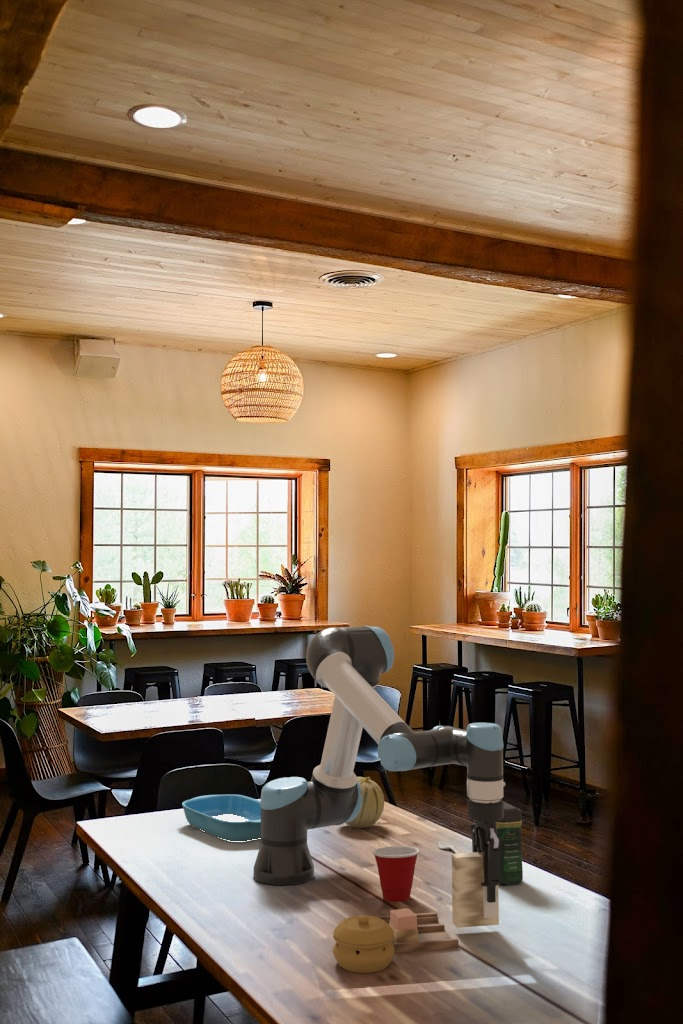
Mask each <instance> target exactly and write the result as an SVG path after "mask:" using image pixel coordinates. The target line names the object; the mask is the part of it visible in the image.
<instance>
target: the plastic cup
mask: <svg viewBox="0 0 683 1024" xmlns="http://www.w3.org/2000/svg"><path fill="white" fill-rule="evenodd" d="M419 853H420V849H419V848H417V847H413V846H403V845H391V846H383V847H377V848H375V849H373V850H372V855H373V856H374V859H375V862H376V866H377V872H378V877H379V883H380V887H381V894H382V898H383V899H384V900H385V901H388V902H393V903H398V902H399V903H400V902H401V903H402V902H407V901H409V900H410V898H411V895H412V894H411V893H412V888H413V883H414V876H415V869H416V863H417V860H418V859H417V858H418V855H419Z"/></svg>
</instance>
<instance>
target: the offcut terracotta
mask: <svg viewBox="0 0 683 1024" xmlns="http://www.w3.org/2000/svg"><path fill="white" fill-rule="evenodd" d="M389 911H390V912H389V916H390V923H391V924H392V925H393V926H394V927H395V928H396V929H397V930H398V931H399V930H407V929H415V928H417V915H416V914H417V913H415V912H413V911H412V910H411V909H410V908H399V909H390V910H389Z"/></svg>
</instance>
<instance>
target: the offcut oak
mask: <svg viewBox="0 0 683 1024" xmlns="http://www.w3.org/2000/svg"><path fill="white" fill-rule="evenodd" d="M389 925H390V927H391V928H392V930H393V931H394V939H393V940H392V941H393V943H399V942H413V941H418V929H417V928H415V929H407V930H399V931H398V930H397V929H396V928H395V927H394V926H393V925H392V924H391V923H390V921H389Z"/></svg>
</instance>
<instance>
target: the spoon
mask: <svg viewBox="0 0 683 1024" xmlns="http://www.w3.org/2000/svg"><path fill="white" fill-rule="evenodd" d="M437 847H438V848H439V849H441V850H452V851H454V854H456V853H460V852H459V851H458V850H457V849H456V848H455V846H454V845H452V844H451V843H449V841H448V842H447V841H444V840H439V841H438V844H437Z"/></svg>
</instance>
